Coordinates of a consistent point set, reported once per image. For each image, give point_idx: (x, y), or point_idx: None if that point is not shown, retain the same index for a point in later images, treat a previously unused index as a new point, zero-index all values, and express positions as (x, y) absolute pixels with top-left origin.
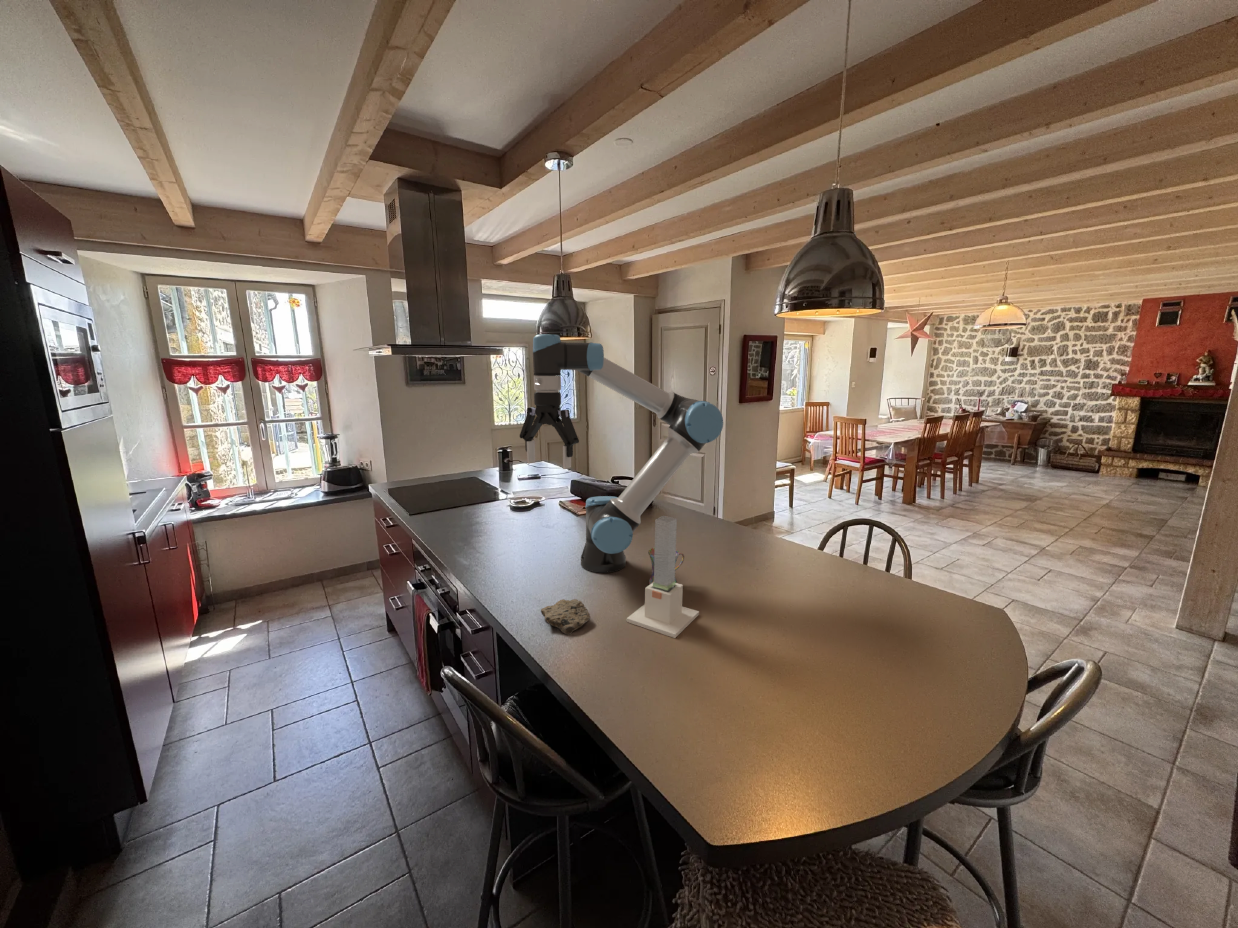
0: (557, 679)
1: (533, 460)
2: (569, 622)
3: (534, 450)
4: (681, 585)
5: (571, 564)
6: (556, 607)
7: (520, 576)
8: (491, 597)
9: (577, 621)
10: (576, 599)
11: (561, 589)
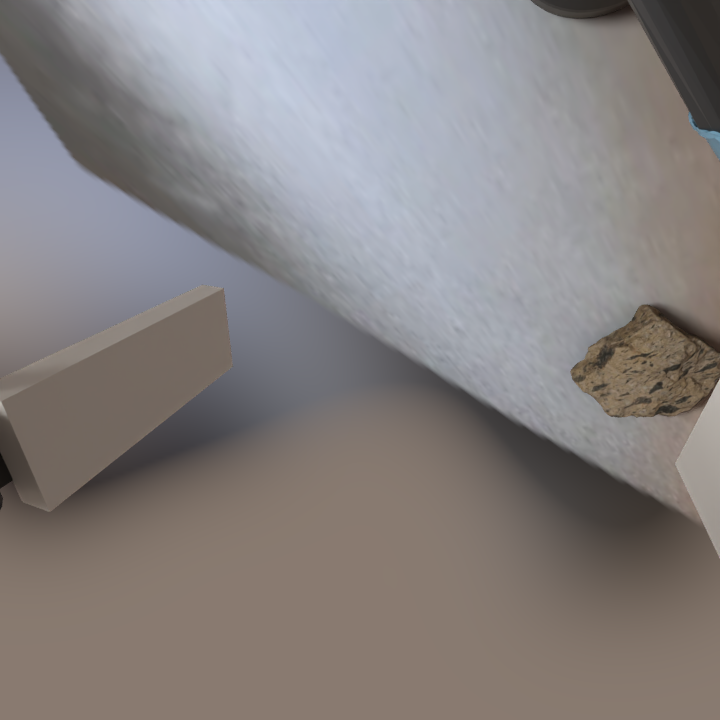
0: None
1: (213, 322)
2: (678, 407)
3: (133, 346)
4: None
5: (477, 4)
6: (620, 379)
7: (383, 201)
8: (401, 332)
9: (699, 398)
10: (660, 322)
11: (544, 214)
